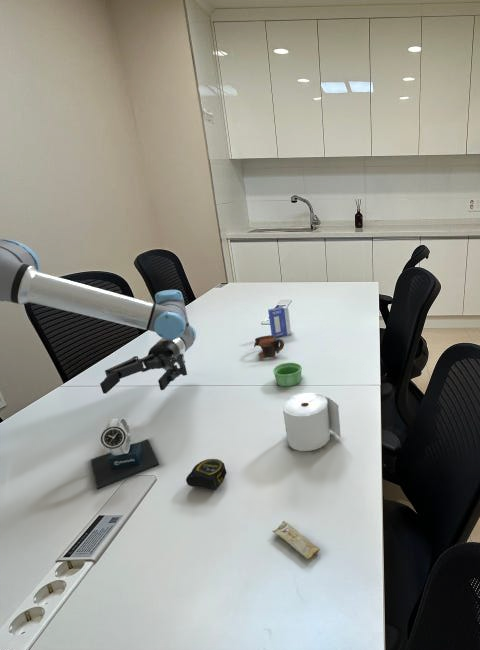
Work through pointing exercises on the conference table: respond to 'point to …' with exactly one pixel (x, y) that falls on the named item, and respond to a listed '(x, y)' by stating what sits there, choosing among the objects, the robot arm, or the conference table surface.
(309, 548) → the snack bar
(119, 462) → the watch
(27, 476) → the conference table surface
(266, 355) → the pottery mug
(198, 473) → the tape measure
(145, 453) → the dark mat
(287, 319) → the walkman
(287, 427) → the toilet tissue
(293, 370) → the ramekin
